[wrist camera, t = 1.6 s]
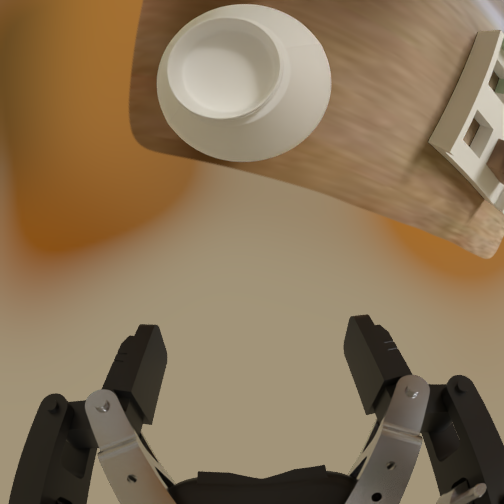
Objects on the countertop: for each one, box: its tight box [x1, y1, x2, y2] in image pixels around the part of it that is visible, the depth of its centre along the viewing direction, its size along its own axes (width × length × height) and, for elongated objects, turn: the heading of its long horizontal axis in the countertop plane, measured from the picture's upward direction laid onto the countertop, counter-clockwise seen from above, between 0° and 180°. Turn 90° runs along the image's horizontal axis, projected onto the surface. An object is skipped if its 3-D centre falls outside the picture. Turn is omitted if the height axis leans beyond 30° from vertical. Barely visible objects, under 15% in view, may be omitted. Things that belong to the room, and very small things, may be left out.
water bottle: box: [157, 4, 331, 162], centre depth 14 cm, size 9×6×25 cm
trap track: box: [428, 30, 504, 214], centre depth 20 cm, size 21×15×5 cm
